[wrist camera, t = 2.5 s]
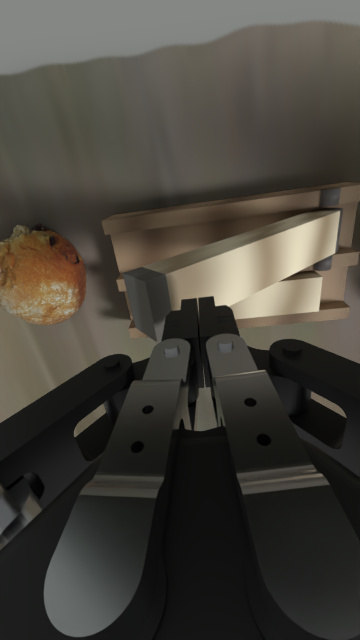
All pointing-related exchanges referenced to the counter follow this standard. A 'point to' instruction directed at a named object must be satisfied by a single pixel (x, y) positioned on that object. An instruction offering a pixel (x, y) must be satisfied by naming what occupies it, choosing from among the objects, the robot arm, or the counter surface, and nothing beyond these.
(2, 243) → the bread roll
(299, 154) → the counter surface
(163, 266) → the hinged leg
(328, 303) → the wooden slat frame
